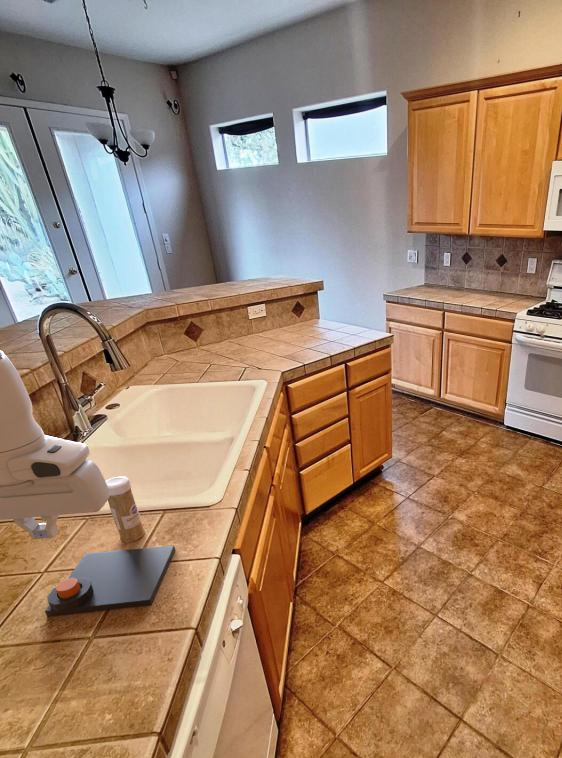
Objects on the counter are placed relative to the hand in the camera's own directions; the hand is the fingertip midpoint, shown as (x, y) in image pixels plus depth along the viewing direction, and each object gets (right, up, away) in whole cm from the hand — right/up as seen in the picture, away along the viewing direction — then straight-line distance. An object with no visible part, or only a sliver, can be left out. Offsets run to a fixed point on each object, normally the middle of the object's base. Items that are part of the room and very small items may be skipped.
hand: (46, 536), depth 67 cm
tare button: (0, -11, +5) cm, 12 cm away
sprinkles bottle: (0, -5, +22) cm, 23 cm away
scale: (+4, -11, +11) cm, 16 cm away
